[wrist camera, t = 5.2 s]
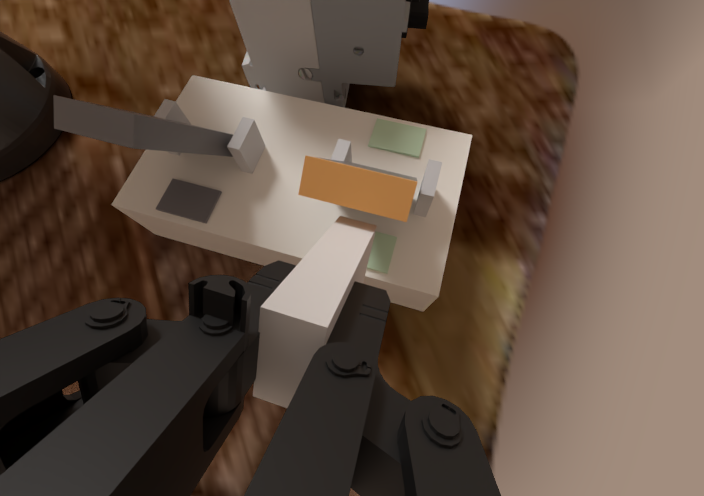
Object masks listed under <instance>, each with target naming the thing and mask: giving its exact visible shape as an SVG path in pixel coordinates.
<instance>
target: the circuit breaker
mask: <svg viewBox="0 0 704 496" xmlns="http://www.w3.org/2000/svg"><path fill="white" fill-rule="evenodd" d="M229 1H230V4H231V7H232V10H233V12H234V15H235V18H236V21H237V24H238V26H239V29H240V32H241V35H242V38H243V41H244V43H245V46H246V49H247V52H246V55H245V58H244V61H243V64H242V67H243V70H244V72H245V75H246V78H247V80H248V83H249V85H250V88H255V89H258V88H257V85H259V87H260V90H264V91H269V92H274V93H278V94H283V95H288V96H292V97H297V98H302V99H306V100H311V101H316V102H320V103H325V104H330V105H334V106H339V107H344V108H345V105H346V100H347V95H348V90H349V84H363V85H375V86H388V87H395V84H396V76H397V68H398V60H399V52H400V44H401V38H406V35H407V29H408V28H419V29H426V25H427V20H428V4H429V0H229ZM256 84H257V85H256Z"/></svg>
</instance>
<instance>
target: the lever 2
mask: <svg viewBox="0 0 704 496" xmlns="http://www.w3.org/2000/svg"><path fill="white" fill-rule="evenodd" d="M416 186H417V178H415V177H411V176H407V175H403V174H398V173H394V172H390V171H386V170H381V169H377V168H373V167H369V166H364V165H360V164H356V163H351V162H344V161H338V160H331V159H325V158H318V157H312V156H305V160H304V166H303V171H302V177H301V182H300V188H299V194H298V195H301V196H305V197H309V198H313V199H317V200H321V201H325V202H329V203H332V204H336V205H340V206H344V207H348V208H352V209H356V210H360V211H364V212H368V213H372V214H376V215H380V216H384V217H388V218H391V219H395V220H399V221H403V222H407V219H408V215H409V212H410V208H411V204H412V201H413V197H414V193H415V190H416Z"/></svg>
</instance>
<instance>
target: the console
mask: <svg viewBox="0 0 704 496" xmlns="http://www.w3.org/2000/svg"><path fill="white" fill-rule="evenodd" d="M154 117H159V118H163V119H168V120H173V121H177V122H182V123H186V124H191V125H195V126H199V127H203V128H207V129H212V130H216V131H220V132H224V133H229V134H233V136H232V138H231V140H230V142H229V144H228V146H227V147H228V149H229V151H230V152H231V154H232V156H233V157H228V156H216V155H205V154H193V153H181V152H169V151H158V150H145V152H144V153H143V155H142V156H141V158H140V159H139V161H138V163H137V164H136V166H135V167H134V169H133V171H132V172H131V174H130V175H129V177H128V179H127V180H126V182H125V183H124V185H123V187H122V188H121V190H120V191H119V193H118V195H117V196H116V198H115V199H114V201H113V203H112V204H111V205H112V206H114V207H115V208H117V209H118V210H120V211H121V212H123V213H124V214H126V215H127V216H129V217H130V218H131V219H133V220H134V221H136V222H137V223H139V224H140V225H142V226H143V227H145V228H146V229H148V230H149V231H151V232H152V233H154V234H155V235H159V236H162V237H166V238H169V239H173V240H176V241H180V242H183V243H186V244H190V245H193V246H197V247H200V248H204V249H207V250H211V251H214V252H218V253H221V254H225V255H228V256H232V257H235V258H239V259H242V260H246V261H249V262H252V263H256V264H259V265H263V266H265V265H268V264H270V263H273V262H276V261H278V260H279V261H283V262H286V263H290V264H293V265H296V266H297V264H298V263H299V262H300V261H301V260H302V259H303V258H304V256H305V255H306V254H307V253H308V252H309V251H310V250H311V248H312V247H313V246H314V245H315V244H316V243H317V242H318V240H319V239H320V238H321V237H322V236H323V235H324V234H325V232H326V231H327V230H328V229H329V228H330V227H331V226H332V224H333V223H334V222H335V221H336V220H337V219H338V218H339V216H343V217H347V218H350V219H354V220H358V221H362V222H366V223H369V224H373V225H377V228H376V232H375V236H374V240H373V244H372V249H371V253H370V257H369V261H368V265H367V269H366V273H365V278H364V282H363V284H366V285H370V286H373V287H377V288H380V289H384V290H386V291H387V294H388V296H389V299H390V302H391V303H395V304H398V305H402V306H405V307H409V308H412V309H416V310H419V311H423V312H424V311H425V310H426V309H427V308H428V307H429V306H430V305H431V304H432V303H433V302H434V301H435V300H436V299H437V298H438V297H439V292H440V288H441V283H442V278H443V273H444V269H445V264H446V259H447V254H448V249H449V245H450V240H451V235H452V230H453V225H454V221H455V216H456V211H457V206H458V202H459V197H460V192H461V187H462V182H463V178H464V173H465V168H466V163H467V158H468V154H469V149H470V144H471V139H472V135H470V134H465V133H460V132H456V131H451V130H446V129H442V128H437V127H432V126H428V125H423V124H418V123H414V122H409V121H404V120H400V119H395V118H390V117H386V116H381V115H376V114H372V113H367V112H362V111H358V110H353V109H348V108H344V107H339V106H334V105H330V104H325V103H320V102H316V101H311V100H306V99H302V98H297V97H292V96H288V95H283V94H278V93H274V92H269V91H264V90H260V89H255V88H250V87H246V86H241V85H236V84H232V83H227V82H222V81H218V80H213V79H208V78H204V77H199V76H194V75H192V77H191V78H190V80H189V81H188V83H187V85H186V86H185V88H184V89H183V91H182V93H181V94H180V96H179V97H178V99H177V100H176V102H175V101H171V100H166V99H165V100H164V101H163V103H162V104H161V106H160V108H159V109H158V111H157V112H156V114H155V115H154ZM305 156H312V157H318V158H325V159H331V160H338V161H344V162H351V163H356V164H360V165H364V166H369V167H373V168H377V169H381V170H386V171H390V172H394V173H398V174H403V175H407V176H411V177H415V178H417V186H416V190H415V193H414V197H413V201H412V204H411V208H410V212H409V215H408V219H407V222H403V221H399V220H395V219H391V218H388V217H384V216H380V215H376V214H372V213H368V212H364V211H360V210H356V209H352V208H348V207H344V206H340V205H336V204H332V203H329V202H325V201H321V200H317V199H313V198H309V197H305V196H301V195H298V194H299V188H300V182H301V177H302V171H303V166H304V160H305Z"/></svg>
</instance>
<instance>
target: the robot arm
mask: <svg viewBox="0 0 704 496" xmlns="http://www.w3.org/2000/svg"><path fill="white" fill-rule="evenodd" d="M53 95H56V96H61V97H65V98H70V99H71V93H70V90H69V87H68V85H67V83H66V82H65V80H64V79H63V78H62V77H61V76H60V75H59V74H58V73H57V72H56V71H55V70H54V69H53V68H52V67H51V66H50V65H49V64H48V63H47V62H46V61H45V60H44V59H43V58H41V57H40V56H39V55H38V54H36V53H35V52H33V51H32V50H30V49H28V48H27V47H25V46H23V45H22V44H20V43H18V42H17V41H15V40H13V39H12V38H10V37H8V36H7V35H5V34H3V33H2V32H0V181H1V180H3V179H6V178H8V177H10V176H12V175H14V174H16V173H17V172H19V171H21V170H22V169H24V168H25V167H27V166H28V165H30V164H31V163H33V162H34V161H35V160H36V159H38V158H39V157H40V156H41V155H42V154H43V153H44V152H45V151H46V150H47V149H48V148H49V147H50V146H51V145H52V144H53V143H54V142H55V140H56V139H57V138H58V136H59V135H60V133H61V132H62V130H58V129H54V98H53ZM376 228H377V225H373V224H369V223H366V222H362V221H358V220H354V219H350V218H347V217H343V216H339V218H338V219H337V220H336V221H335V222H334V223H333V224H332V226H331V227H330V228H329V229H328V230H327V231H326V232H325V234H324V235H323V236H322V237H321V238H320V239H319V240H318V242H317V243H316V244H315V245H314V246H313V247H312V248H311V250H310V251H309V252H308V253H307V254H306V255H305V256H304V258H303V259H302V260H301V261H300V262H299V263H298V264H297V266H296V265H293V264H290V263H286V262H283V261H279V260H278V261H276V262H273V263H270V264H268V265H265V266H264V267H263V268H262V269H261V270H260V271H259V272H258V273H256V276H255V275H254V276H253V277H252V278H251V279H250V280H249V282H248V283H246V282H245V281H243V280H241V279H238V278H236V277H232V276H227V275H210V276H205V277H201V278H198V279H196V280H194V281H192V282H190V283H188V284H189V316H188V317H186V318H185V319H184V320H183V321H167V320H152V319H147V317H146V308H145V307H144V306H143V305H142V304H141V303H140V302H138V301H135V300H133V299H128V298H110V299H102V300H99V301H96V302H92V303H89V304H86V305H84V306H81V307H79V308H76V309H74V310H71V311H69V312H66V313H64V314H62V315H59V316H57V317H54V318H52V319H49V320H47V321H44V322H42V323H39V324H37V325H34V326H32V327H29V328H27V329H24V330H22V331H19V332H17V333H14V334H12V335H9V336H7V337H4V338H2V339H0V496H190V495H191V493H192V492H193V490H194V489H195V487H196V486H197V484H198V482H199V481H200V479H201V478H202V476H203V474H204V473H205V471H206V470H207V468H208V466H209V465H210V463H211V462H212V460H213V458H214V457H215V455H216V454H217V452H218V450H219V449H220V447H221V446H222V444H223V442H224V441H225V439H226V438H227V436H228V434H229V433H230V431H231V430H232V428H233V426H234V425H235V423H236V422H237V420H238V418H239V417H240V415H241V412H242V409H243V406H244V396H245V394H246V393H247V391H248V390H249V388H250V387H251V385H252V384H253V382H254V387H253V397H256V398H259V399H262V400H265V401H267V402H270V403H273V404H276V405H279V406H282V407H285V408H287V410H286V412H285V414H284V416H283V418H282V420H281V422H280V424H279V426H278V428H277V430H276V432H275V434H274V436H273V438H272V440H271V442H270V444H269V446H268V448H267V450H266V452H265V454H264V456H263V458H262V460H261V463H260V465H259V467H258V469H257V471H256V473H255V475H254V477H253V479H252V481H251V483H250V485H249V487H248V489H247V491H246V493H245V495H244V496H349V493H350V488H352V489H353V490H354V491H355V492H356V493H358V494H359V495H360V496H501V494H500V492H499V489H498V486H497V484H496V481H495V478H494V476H493V473H492V470H491V468H490V465H489V462H488V460H487V457H486V454H485V452H484V449H483V446H482V444H481V441H480V438H479V436H478V433H477V431H476V429H475V427H474V426H473V424H472V422H471V420H470V418H469V417H468V416H467V415H466V414H465V413H464V412H463V411H462V410H461V409H460V408H459V407H457V406H455V405H454V404H452V403H451V402H449V401H447V400H445V399H442V398H439V397H435V396H420V397H418V398H416V399H415V400H413V401H410V400H409V399H407V398H405V397H404V396H402V395H401V394H399V393H398V392H396V391H395V390H394V389H393V388H391V387H390V386H389V385H388V384H387V382H386V381H385V380H384V379H383V377H382V375H381V374H380V372H379V368H378V355H379V351H380V346H381V342H382V337H383V333H384V328H385V324H386V319H387V315H388V310H389V306H390V299H389V296H388V294H387V291H386V290H384V289H380V288H377V287H373V286H370V285H366V284H363V282H364V278H365V273H366V269H367V265H368V261H369V257H370V253H371V249H372V244H373V240H374V236H375V232H376ZM76 381H78V384H79V388H80V391H78V392H75V393H73V394H71V395H63V392H62V389H64V388H65V387H67V386H69V385H71V384H72V383H74V382H76Z"/></svg>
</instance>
